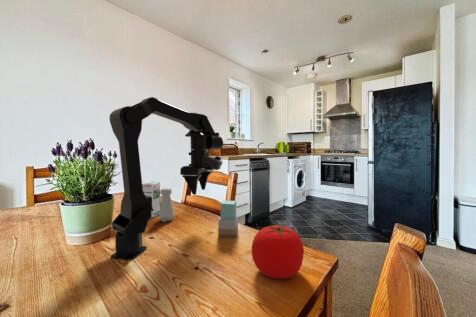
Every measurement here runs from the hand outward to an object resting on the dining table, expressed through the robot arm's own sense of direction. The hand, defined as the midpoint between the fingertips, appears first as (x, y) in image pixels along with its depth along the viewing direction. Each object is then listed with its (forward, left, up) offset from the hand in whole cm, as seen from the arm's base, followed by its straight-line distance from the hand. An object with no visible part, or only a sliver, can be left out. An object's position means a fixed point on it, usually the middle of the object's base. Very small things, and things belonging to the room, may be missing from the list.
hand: (199, 191), depth 76 cm
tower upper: (-5, -12, -10) cm, 17 cm away
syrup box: (+10, +26, -13) cm, 31 cm away
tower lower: (-5, -12, -13) cm, 19 cm away
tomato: (-24, -28, -13) cm, 39 cm away
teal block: (-5, -12, -7) cm, 15 cm away
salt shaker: (+5, +16, -13) cm, 21 cm away
